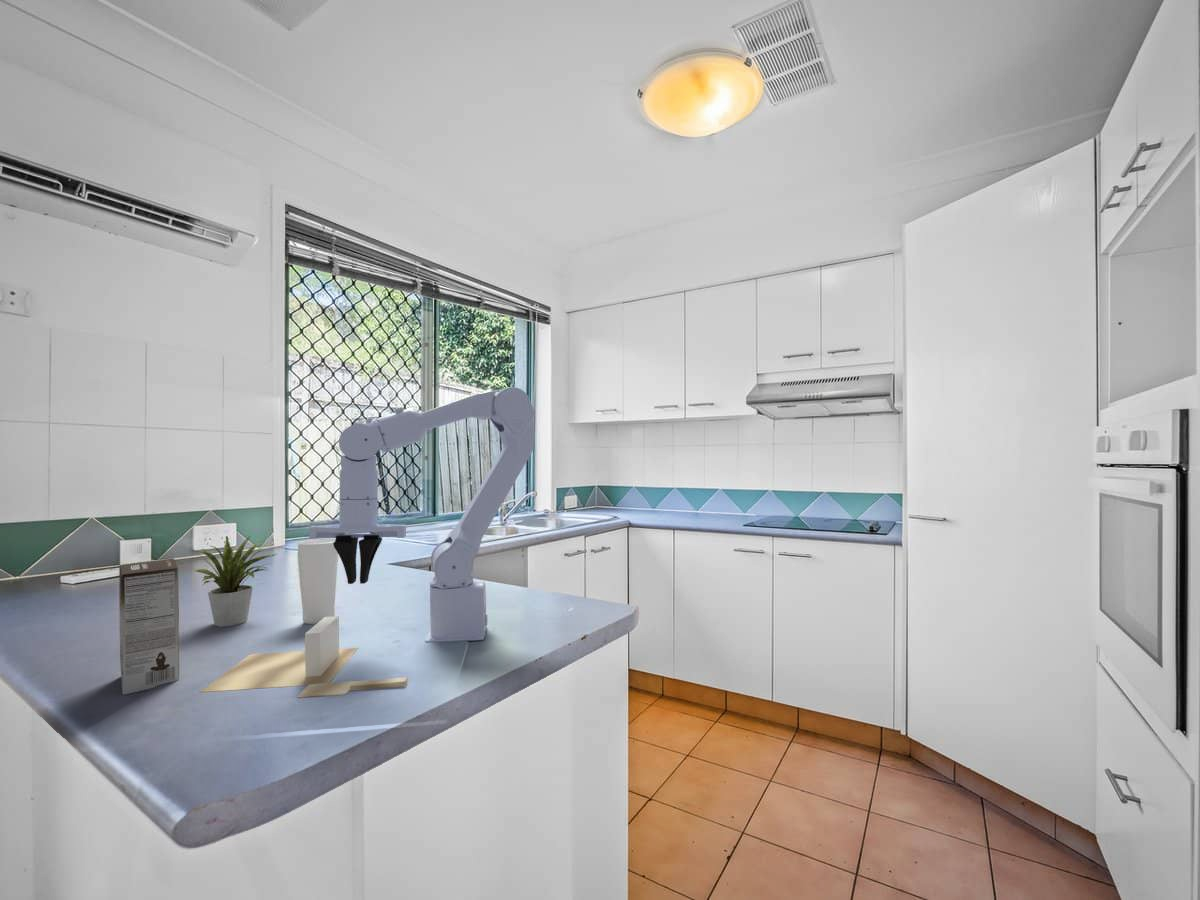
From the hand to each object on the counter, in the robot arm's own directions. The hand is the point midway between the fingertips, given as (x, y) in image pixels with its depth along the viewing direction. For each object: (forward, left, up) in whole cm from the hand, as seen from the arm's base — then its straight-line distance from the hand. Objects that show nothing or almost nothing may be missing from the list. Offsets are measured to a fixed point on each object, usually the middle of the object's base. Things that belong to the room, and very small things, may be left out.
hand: (358, 582), depth 92 cm
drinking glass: (+12, -16, -11) cm, 22 cm away
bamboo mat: (+8, +9, -10) cm, 16 cm away
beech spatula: (-4, +18, -11) cm, 21 cm away
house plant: (+28, -17, -11) cm, 34 cm away
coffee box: (+26, +9, -11) cm, 29 cm away
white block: (+3, +9, -10) cm, 14 cm away
